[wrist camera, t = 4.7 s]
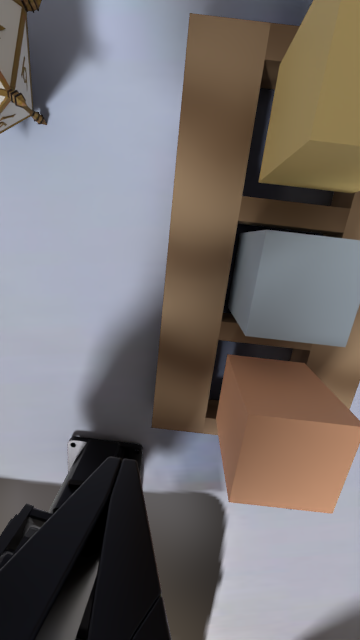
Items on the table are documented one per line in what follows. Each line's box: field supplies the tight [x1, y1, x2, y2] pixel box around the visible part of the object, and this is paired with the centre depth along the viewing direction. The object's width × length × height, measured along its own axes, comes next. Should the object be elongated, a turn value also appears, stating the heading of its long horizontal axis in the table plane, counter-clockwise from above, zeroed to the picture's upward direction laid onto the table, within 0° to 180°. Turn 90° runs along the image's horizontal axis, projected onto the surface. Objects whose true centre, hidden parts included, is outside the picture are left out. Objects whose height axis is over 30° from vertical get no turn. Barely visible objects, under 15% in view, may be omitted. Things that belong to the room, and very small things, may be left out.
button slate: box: [228, 230, 360, 347], centre depth 15 cm, size 5×5×6 cm
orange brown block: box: [216, 354, 360, 513], centre depth 14 cm, size 5×5×6 cm
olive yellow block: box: [259, 0, 360, 193], centre depth 10 cm, size 5×5×6 cm
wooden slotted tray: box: [151, 13, 360, 435], centre depth 17 cm, size 24×14×2 cm, turn 174°
